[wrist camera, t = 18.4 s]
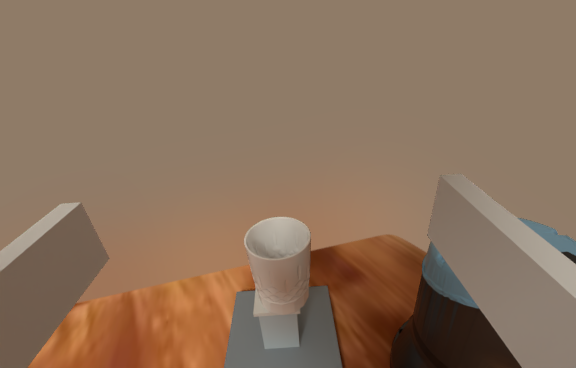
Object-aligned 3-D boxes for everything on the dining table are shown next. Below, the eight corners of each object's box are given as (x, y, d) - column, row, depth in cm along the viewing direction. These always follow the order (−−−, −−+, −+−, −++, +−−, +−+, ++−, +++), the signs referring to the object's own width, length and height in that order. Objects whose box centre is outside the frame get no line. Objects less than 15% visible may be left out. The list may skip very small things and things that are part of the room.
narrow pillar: (327, 291, 50) (326, 248, 45) (345, 393, 36) (347, 346, 31) (238, 297, 50) (228, 255, 45) (221, 401, 36) (204, 356, 31)
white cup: (273, 265, 43) (265, 211, 38) (321, 281, 39) (320, 224, 35) (243, 306, 37) (230, 248, 32) (298, 329, 33) (292, 268, 28)
